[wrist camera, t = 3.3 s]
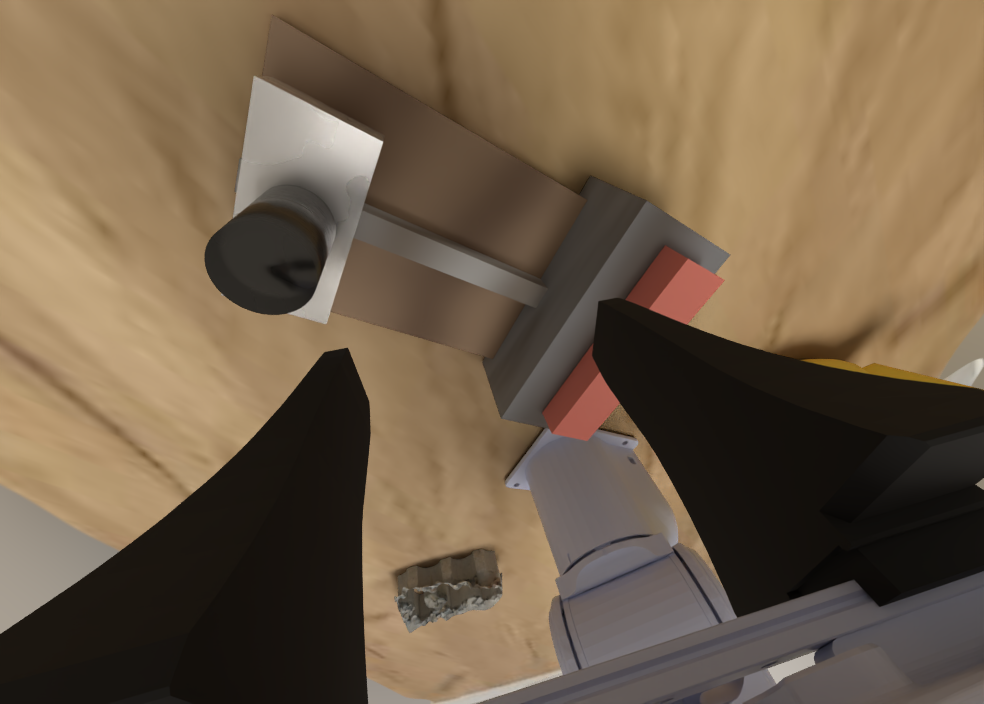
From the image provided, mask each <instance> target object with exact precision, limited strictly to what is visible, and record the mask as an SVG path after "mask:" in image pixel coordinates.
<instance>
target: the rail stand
mask: <svg viewBox="0 0 984 704" xmlns="http://www.w3.org/2000/svg"><path fill="white" fill-rule="evenodd" d="M262 76H266V77H274V78H276V79H278V80H280V81H282V82H283V83H285V84H287V85H289V86H291V87H293V88H295V89H297V90H299V91H301V92H303V93H305V94H306V95H308V96H310V97H312V98H314V99H316V100H318V101H320V102H322V103H324V104H326V105H327V106H329V107H331V108H333V109H335V110H337V111H339V112H341V113H343V114H345V115H347V116H348V117H350V118H352V119H354V120H356V121H358V122H360V123H362V124H364V125H366V126H368V127H370V128H371V129H373V130H375V131H377V132H379V133H381V134H383V135H384V141H383V145H382V148H381V151H380V154H379V157H378V161H377V164H376V167H375V170H374V173H373V176H372V180H371V183H370V186H369V189H368V192H367V196H366V199H365V202H364V205H363V208H362V212H361V215H360V218H359V221H358V224H357V228H356V231H355V234H354V237H353V240H352V244H351V247H350V250H349V253H348V256H347V260H346V263H345V266H344V269H343V272H342V276H341V279H340V282H339V285H338V288H337V292H336V295H335V298H334V301H333V304H332V308H331V311H330V312H333V313H337V314H340V315H344V316H347V317H350V318H354V319H357V320H361V321H364V322H368V323H371V324H374V325H378V326H381V327H385V328H388V329H391V330H395V331H398V332H402V333H405V334H409V335H412V336H415V337H419V338H422V339H426V340H429V341H432V342H436V343H439V344H443V345H446V346H449V347H453V348H456V349H460V350H463V351H467V352H470V353H473V354H477V355H480V356H484V357H485V358H484V360H483V365H484V368H485V372H486V375H487V378H488V381H489V384H490V387H491V390H492V393H493V396H494V399H495V402H496V405H497V408H498V411H499V414H500V417H501V419H506V420H510V421H515V422H520V423H524V424H529V425H534V426H538V427H543V428H548V429H549V427H548V424H547V422H546V420H545V418H544V416H543V414H542V412H543V411H544V410H545V408H546V407H547V406H548V404H549V403H550V401H551V400H552V399H553V397H554V396H555V395H556V393H557V392H558V391H559V389H560V388H561V386H562V385H563V384H564V382H565V381H566V380H567V378H568V377H569V376H570V374H571V373H572V371H573V370H574V369H575V367H576V366H577V365H578V363H579V362H580V361H581V359H582V358H583V356H584V355H585V354H586V352H587V351H588V350H589V348H590V347H591V346H592V344H593V342H594V334H595V325H596V317H597V309H598V301H602V300H607V299H612V298H621V299H624V300H625V299H626V298H627V297H628V295H629V294H630V292H631V291H632V290H633V288H634V287H635V286H636V284H637V283H638V282H639V280H640V279H641V277H642V276H643V275H644V273H645V272H646V271H647V269H648V268H649V267H650V265H651V264H652V263H653V261H654V260H655V258H656V257H657V256H658V254H659V253H660V252H661V250H662V249H663V248H664V246H667V247H669V248H671V249H672V250H674V251H676V252H678V253H679V254H681V255H683V256H684V257H686V258H688V259H690V260H691V261H693V262H695V263H696V264H698V265H700V266H701V267H703V268H705V269H707V270H708V271H710V272H712V273H713V274H715V273H716V272H717V270H718V269H719V268H720V267H721V266H722V264H723V263H724V262H725V261H726V260H727V258H728V257H729V256H730V254H728V253H727V252H725V251H724V250H722V249H721V248H719V247H718V246H716V245H714V244H713V243H711V242H710V241H708V240H707V239H705V238H704V237H702V236H701V235H699V234H698V233H696V232H694V231H693V230H691V229H690V228H688V227H687V226H685V225H684V224H682V223H681V222H679V221H677V220H676V219H674V218H673V217H671V216H670V215H668V214H667V213H665V212H664V211H662V210H660V209H659V208H657V207H656V206H654V205H653V204H651V203H650V202H648V201H646V200H644V199H642V198H640V197H637V196H635V195H633V194H631V193H628V192H626V191H624V190H622V189H620V188H617V187H615V186H613V185H611V184H608V183H606V182H604V181H602V180H599V179H597V178H595V177H593V176H590V177H589V179H588V181H587V182H586V184H585V186H584V187H583V189H582V191H581V193H580V194H579V195H578V194H576V193H575V192H573V191H571V190H570V189H568V188H566V187H564V186H563V185H561V184H559V183H558V182H556V181H554V180H553V179H551V178H549V177H547V176H546V175H544V174H542V173H541V172H539V171H537V170H536V169H534V168H532V167H530V166H529V165H527V164H525V163H524V162H522V161H520V160H519V159H517V158H515V157H513V156H512V155H510V154H508V153H507V152H505V151H503V150H502V149H500V148H498V147H496V146H495V145H493V144H491V143H490V142H488V141H486V140H485V139H483V138H481V137H479V136H478V135H476V134H474V133H473V132H471V131H469V130H468V129H466V128H464V127H462V126H461V125H459V124H457V123H456V122H454V121H452V120H451V119H449V118H447V117H445V116H444V115H442V114H440V113H439V112H437V111H435V110H434V109H432V108H430V107H428V106H427V105H425V104H423V103H422V102H420V101H418V100H417V99H415V98H413V97H411V96H410V95H408V94H406V93H405V92H403V91H401V90H400V89H398V88H396V87H394V86H393V85H391V84H389V83H388V82H386V81H384V80H383V79H381V78H379V77H377V76H376V75H374V74H372V73H371V72H369V71H367V70H366V69H364V68H362V67H360V66H359V65H357V64H355V63H354V62H352V61H350V60H349V59H347V58H345V57H343V56H342V55H340V54H338V53H337V52H335V51H333V50H332V49H330V48H328V47H326V46H325V45H323V44H321V43H320V42H318V41H316V40H315V39H313V38H311V37H309V36H308V35H306V34H304V33H303V32H301V31H299V30H298V29H296V28H294V27H292V26H291V25H289V24H287V23H286V22H284V21H282V20H281V19H279V18H277V17H275V16H274V15H272V17H271V23H270V30H269V36H268V42H267V49H266V55H265V61H264V68H263V74H262ZM241 160H242V158H240V159H239V165H238V172H237V178H236V185H235V192H236V193H237V187H238V180H239V173H240V166H241Z"/></svg>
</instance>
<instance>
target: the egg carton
mask: <svg viewBox="0 0 984 704" xmlns="http://www.w3.org/2000/svg"><path fill="white" fill-rule="evenodd" d="M446 584H449V585H450V586H448V585H446ZM414 589H417V590H418V591H423V592H424V593H423V594H418V593H415V592H414ZM501 597H502V573H501V574H500V573H499V570H498V566H497V561H496V557H495V551H485V550H483V549H478V550H475V551H473V552H472V553H471V555H469V556H468V557H466V558H463V559H452V558H451V557H448V558H445V559H442V560H440V562H439V563H438V564H437V565H435V566H433V567H429V568H421V567H418V566H413V567H410V568H407V571H406V572H405V573H403V574H402V575H399V576H398V597H396V596H395V602H396V601H397V604H398V609H399V612H400V613H401V616H402V618H403V621H404V623H405V624H406V627H407V629H408V631H409V633H411V632H413V631H414V630H415V629H417V628H418V627H420V626H425V625H426V624H427V623H428V622H429V621H430V622H432V623H433V622H434V621H435V622H437V620H438V618H440V617H442V618H443V619H445V620H446V621H447V620H448V619H449V618H451V617H452V616H455V615H459V614H463V613H465V612H467V611H470V610H487V609H490V608H491V607H493V606H494V605H495V604H496V603H497V602H498V601H499V599H500V598H501Z"/></svg>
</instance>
